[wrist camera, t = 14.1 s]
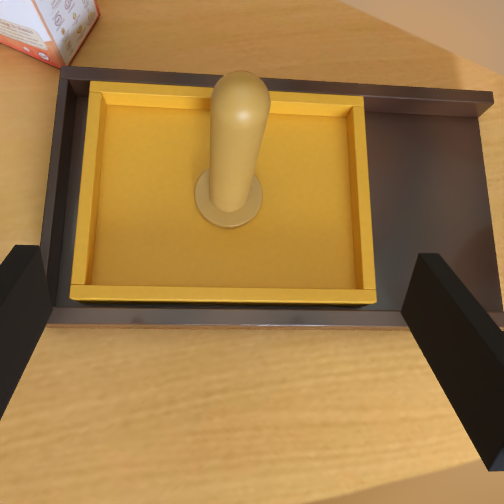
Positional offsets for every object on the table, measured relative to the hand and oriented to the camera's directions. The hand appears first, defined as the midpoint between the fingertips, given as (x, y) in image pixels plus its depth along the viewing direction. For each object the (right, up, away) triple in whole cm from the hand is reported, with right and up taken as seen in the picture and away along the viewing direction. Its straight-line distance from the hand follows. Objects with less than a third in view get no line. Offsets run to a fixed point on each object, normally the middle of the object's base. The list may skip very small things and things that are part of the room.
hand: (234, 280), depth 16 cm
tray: (-1, +4, +14) cm, 15 cm away
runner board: (+3, +4, +16) cm, 17 cm away
